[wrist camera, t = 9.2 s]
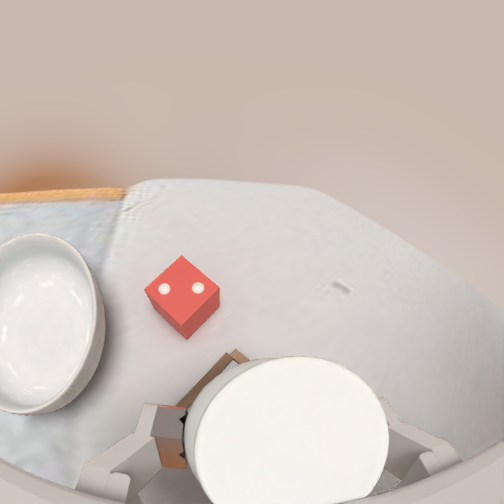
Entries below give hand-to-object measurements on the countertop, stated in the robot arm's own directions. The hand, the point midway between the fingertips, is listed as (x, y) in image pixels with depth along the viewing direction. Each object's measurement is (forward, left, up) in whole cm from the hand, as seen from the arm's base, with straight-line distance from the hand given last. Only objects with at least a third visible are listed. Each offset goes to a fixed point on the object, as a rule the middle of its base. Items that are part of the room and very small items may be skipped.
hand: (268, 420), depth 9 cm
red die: (+10, -5, -16) cm, 20 cm away
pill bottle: (0, 0, -6) cm, 6 cm away
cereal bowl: (+18, +8, -16) cm, 26 cm away
